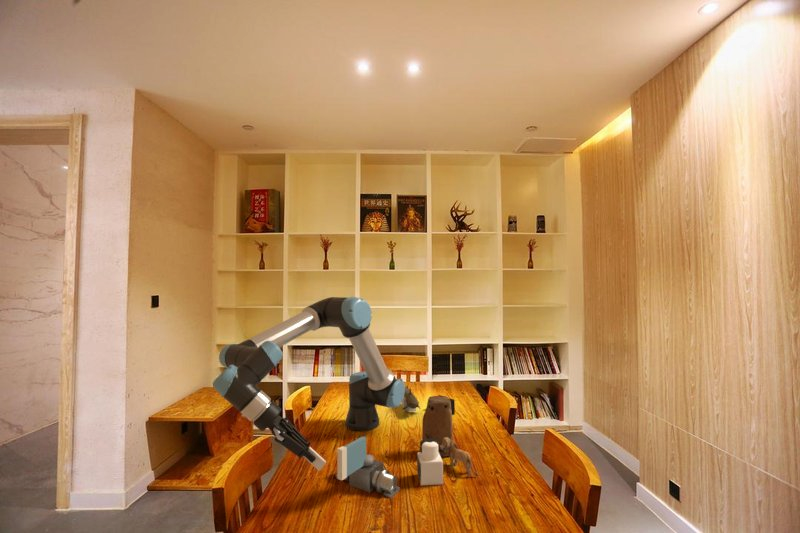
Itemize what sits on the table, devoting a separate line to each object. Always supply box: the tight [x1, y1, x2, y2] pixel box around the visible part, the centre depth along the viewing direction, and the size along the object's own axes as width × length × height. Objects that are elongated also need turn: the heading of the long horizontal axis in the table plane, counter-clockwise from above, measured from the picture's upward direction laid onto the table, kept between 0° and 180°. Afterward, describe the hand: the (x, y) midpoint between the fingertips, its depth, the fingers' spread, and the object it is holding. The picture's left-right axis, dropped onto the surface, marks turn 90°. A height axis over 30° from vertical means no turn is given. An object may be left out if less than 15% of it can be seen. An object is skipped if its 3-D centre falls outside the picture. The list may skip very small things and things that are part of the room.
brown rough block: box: [421, 395, 454, 458], centre depth 135 cm, size 11×8×20 cm
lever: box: [336, 436, 374, 481], centre depth 111 cm, size 14×4×8 cm, turn 147°
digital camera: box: [437, 394, 456, 416], centre depth 180 cm, size 10×5×7 cm, turn 37°
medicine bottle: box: [416, 438, 444, 487], centre depth 117 cm, size 7×7×12 cm
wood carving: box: [399, 377, 421, 412], centre depth 187 cm, size 9×35×11 cm, turn 11°
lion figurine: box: [440, 437, 479, 478], centre depth 123 cm, size 15×5×9 cm, turn 44°
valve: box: [334, 458, 401, 499], centre depth 114 cm, size 22×7×7 cm, turn 57°
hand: (322, 466), depth 105 cm, fingers closed
